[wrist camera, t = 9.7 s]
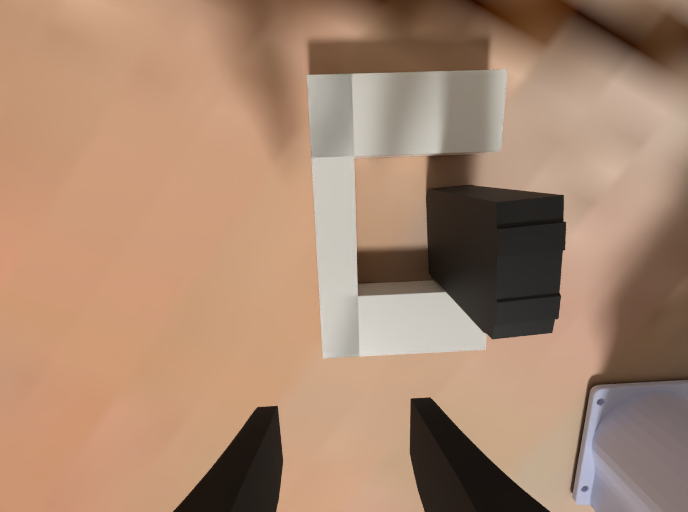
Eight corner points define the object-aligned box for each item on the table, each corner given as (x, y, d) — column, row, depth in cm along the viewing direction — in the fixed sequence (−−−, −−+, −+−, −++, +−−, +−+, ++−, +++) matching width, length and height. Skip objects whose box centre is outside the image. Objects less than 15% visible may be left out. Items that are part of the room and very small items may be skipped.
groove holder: (470, 332, 20) (485, 349, 18) (323, 340, 19) (322, 358, 18) (486, 82, 16) (507, 69, 14) (309, 87, 16) (306, 74, 14)
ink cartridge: (466, 270, 19) (560, 339, 11) (428, 274, 19) (495, 346, 11) (467, 184, 18) (574, 195, 10) (425, 188, 18) (500, 202, 10)
